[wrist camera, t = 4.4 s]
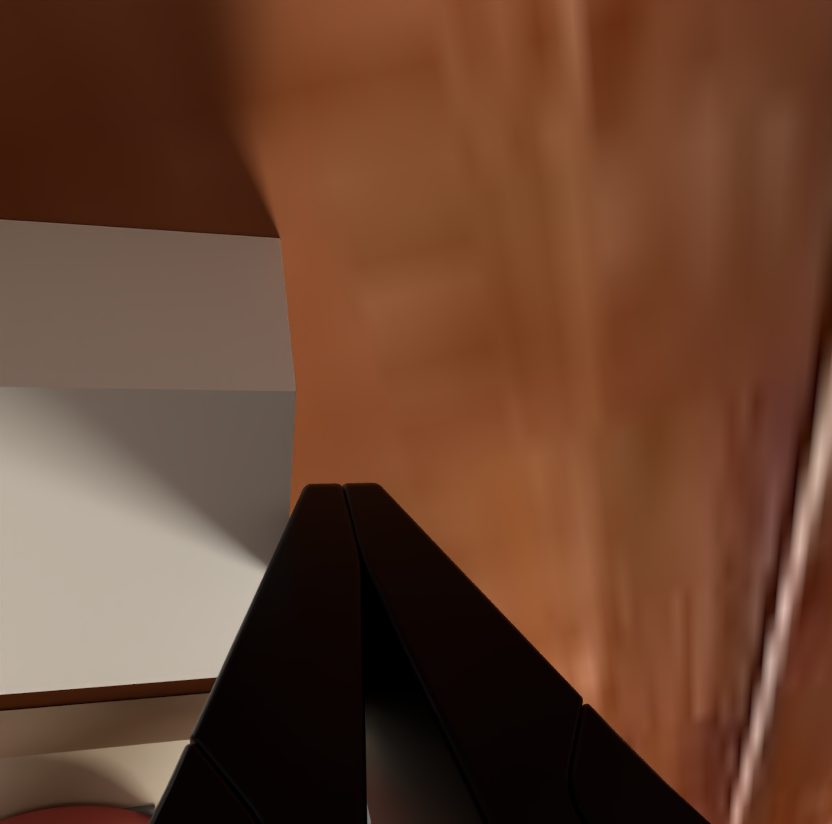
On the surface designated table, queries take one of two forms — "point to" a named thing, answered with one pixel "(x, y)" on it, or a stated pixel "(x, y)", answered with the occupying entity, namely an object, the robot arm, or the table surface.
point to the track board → (94, 753)
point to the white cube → (137, 449)
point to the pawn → (80, 816)
